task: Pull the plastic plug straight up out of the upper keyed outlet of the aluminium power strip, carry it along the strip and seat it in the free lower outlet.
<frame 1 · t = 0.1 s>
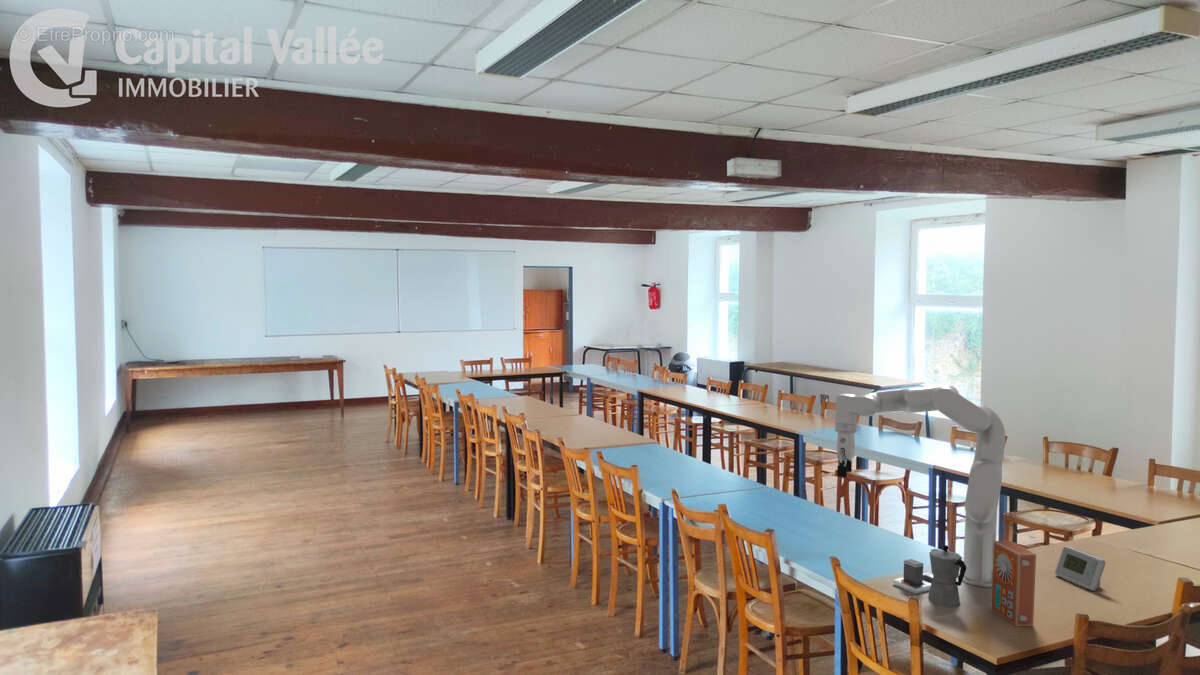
hand: (844, 474, 279), 31 cm above the table, fingers open, 9 cm apart
power strip: (921, 586, 253), on the table
control panel: (1012, 618, 229), on the table
digital clock: (1078, 583, 258), on the table
plug: (912, 587, 251), resting on power strip
coffeepot: (946, 603, 239), on the table
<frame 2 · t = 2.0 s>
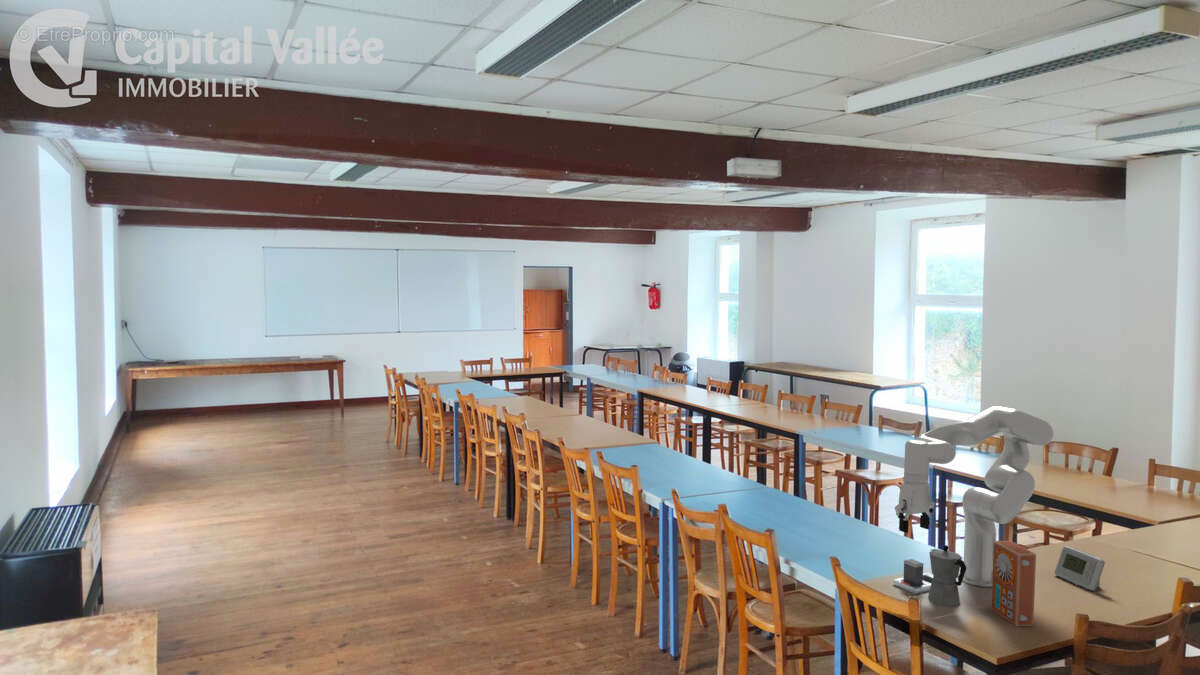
hand: (914, 529, 250), 19 cm above the table, fingers open, 9 cm apart
nothing on the table moved.
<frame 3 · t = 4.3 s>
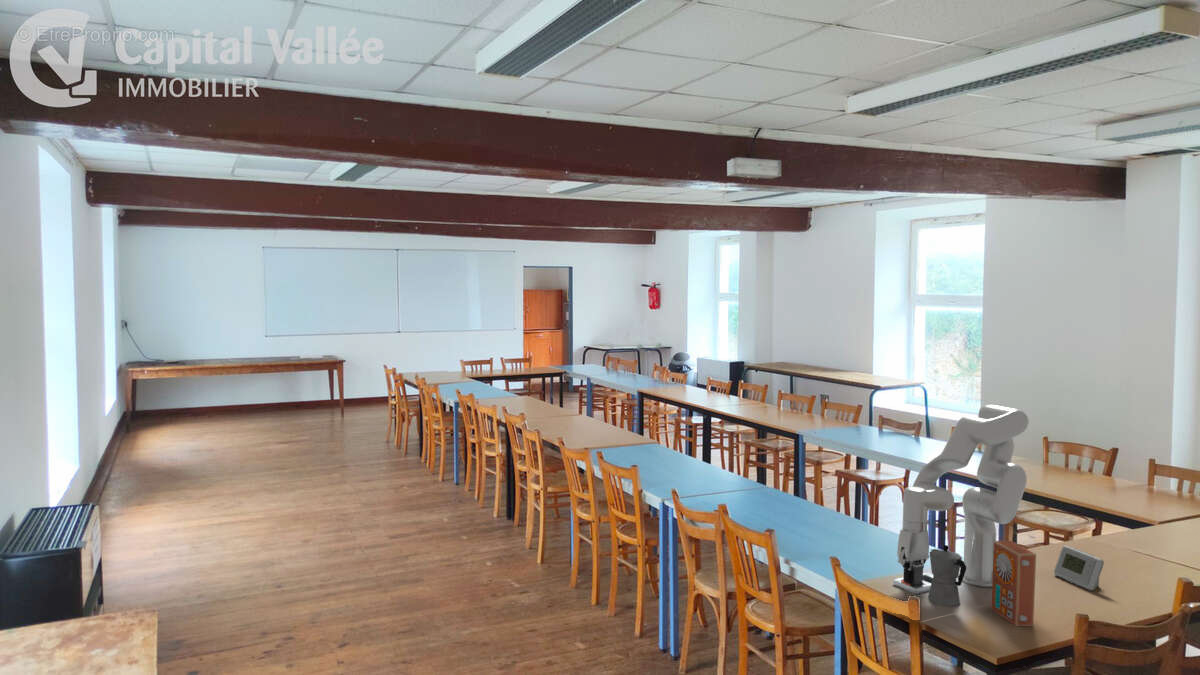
hand: (913, 579, 251), 3 cm above the table, fingers closed on plug, 3 cm apart
plug: (912, 587, 251), resting on power strip, touching gripper
everything else where it was.
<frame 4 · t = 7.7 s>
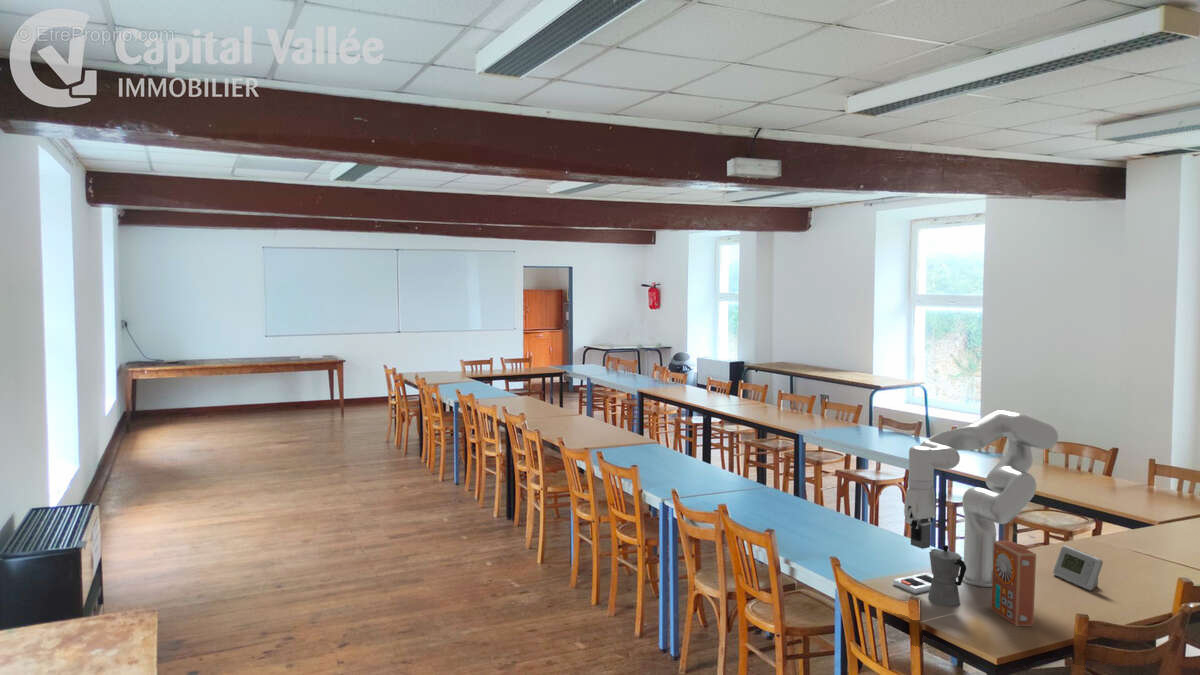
hand: (920, 538, 252), 16 cm above the table, fingers closed on plug, 3 cm apart
plug: (920, 545, 252), point 14 cm above the table, touching gripper
everything else where it was.
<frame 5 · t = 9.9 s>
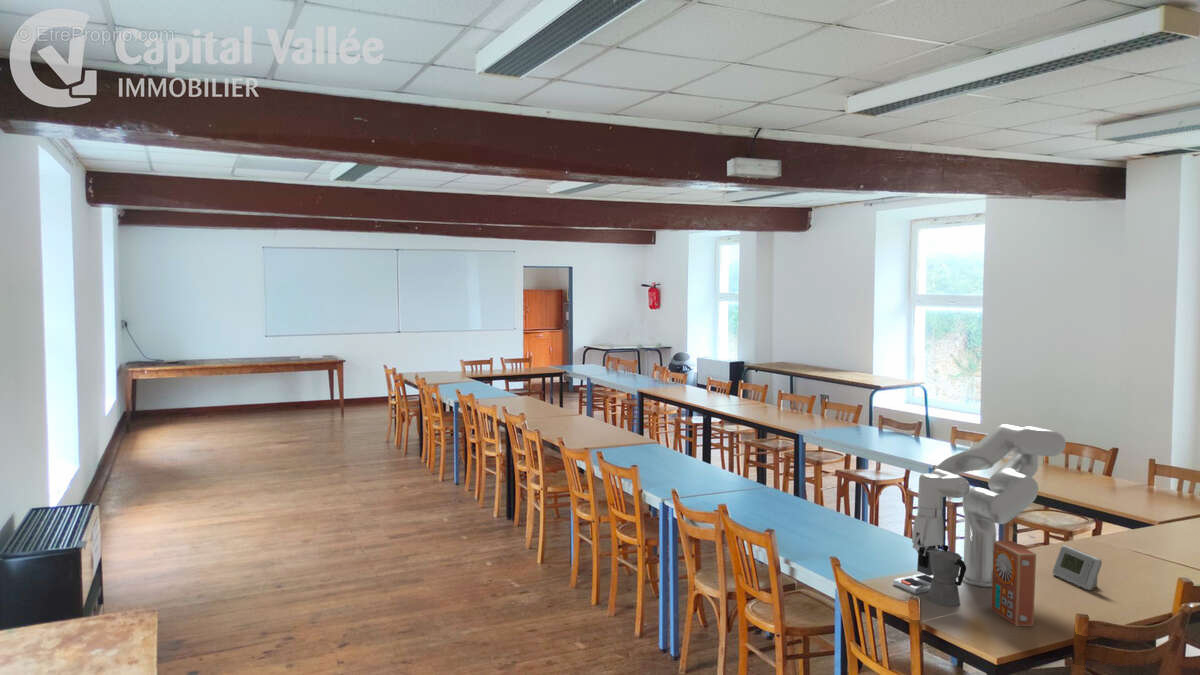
hand: (927, 565, 254), 7 cm above the table, fingers closed on plug, 3 cm apart
plug: (926, 572, 254), point 4 cm above the table, touching gripper
everything else where it was.
when the fingers open (4 cm above the table, at t = 11.4 s): plug drops 1 cm, resting on power strip.
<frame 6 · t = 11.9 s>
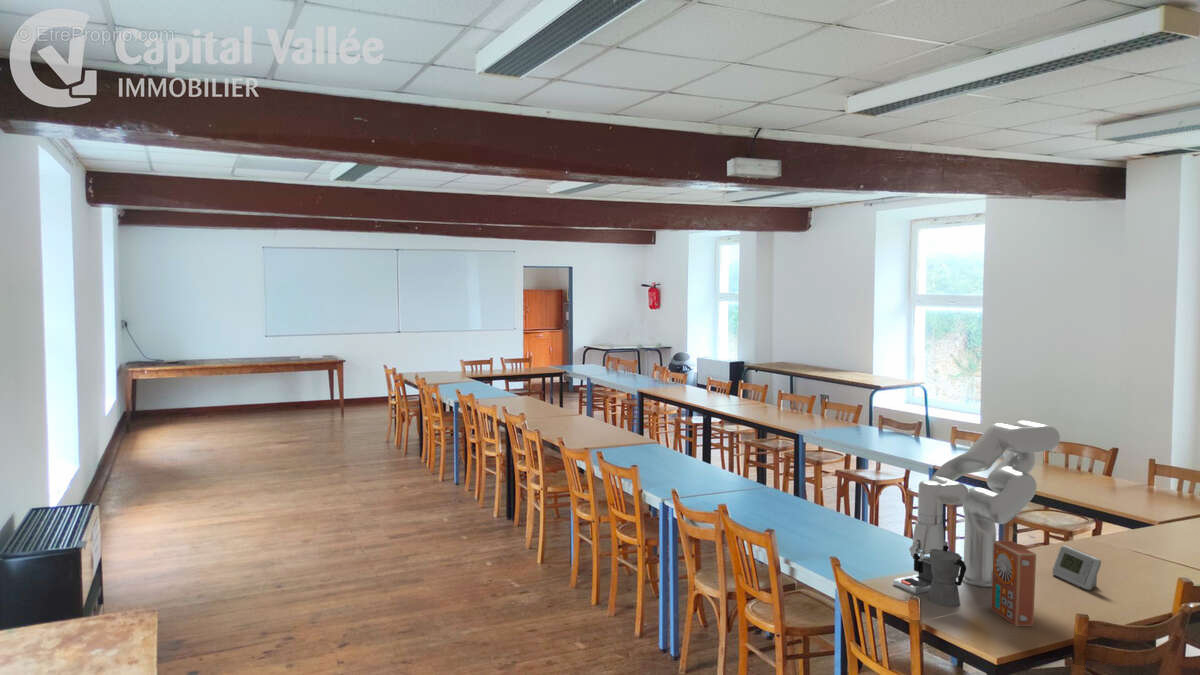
hand: (928, 569, 254), 5 cm above the table, fingers open, 8 cm apart
plug: (927, 583, 255), resting on power strip
everything else where it was.
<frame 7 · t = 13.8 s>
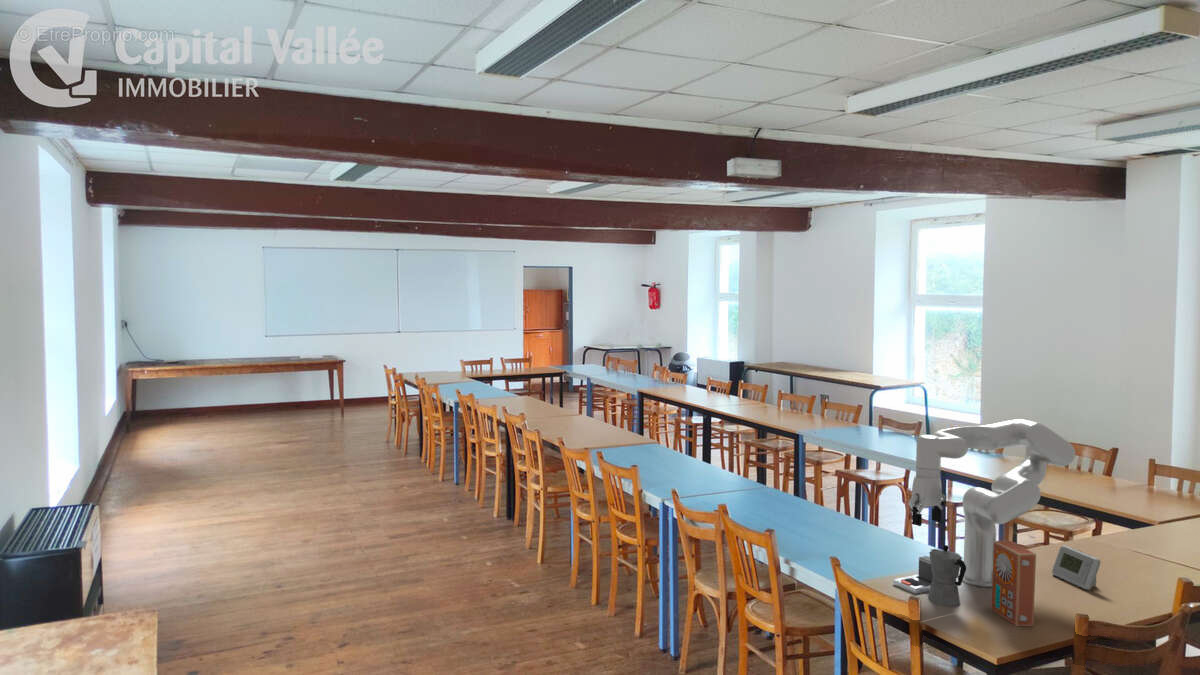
hand: (926, 523, 255), 20 cm above the table, fingers open, 9 cm apart
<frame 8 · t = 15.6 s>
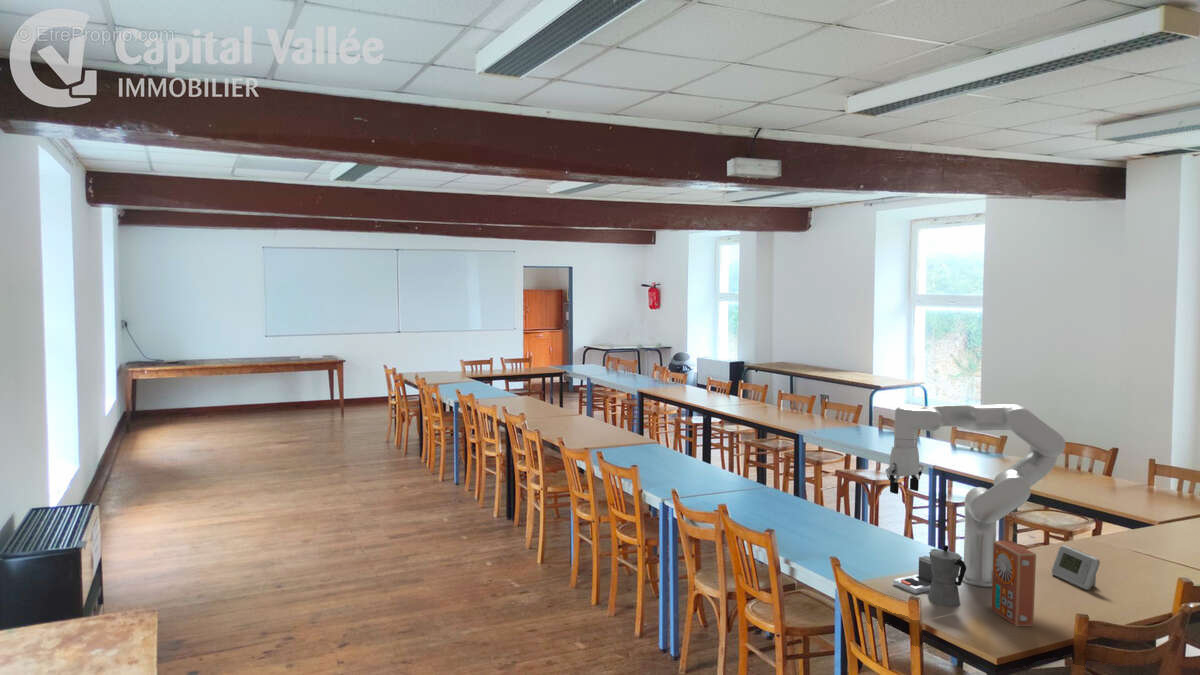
hand: (904, 491, 265), 28 cm above the table, fingers open, 9 cm apart
at the end: plug 0.1 cm from the target spot on the power strip, point 0.3 cm above the power strip's base; plug tilted 0°; the gripper is holding nothing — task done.
